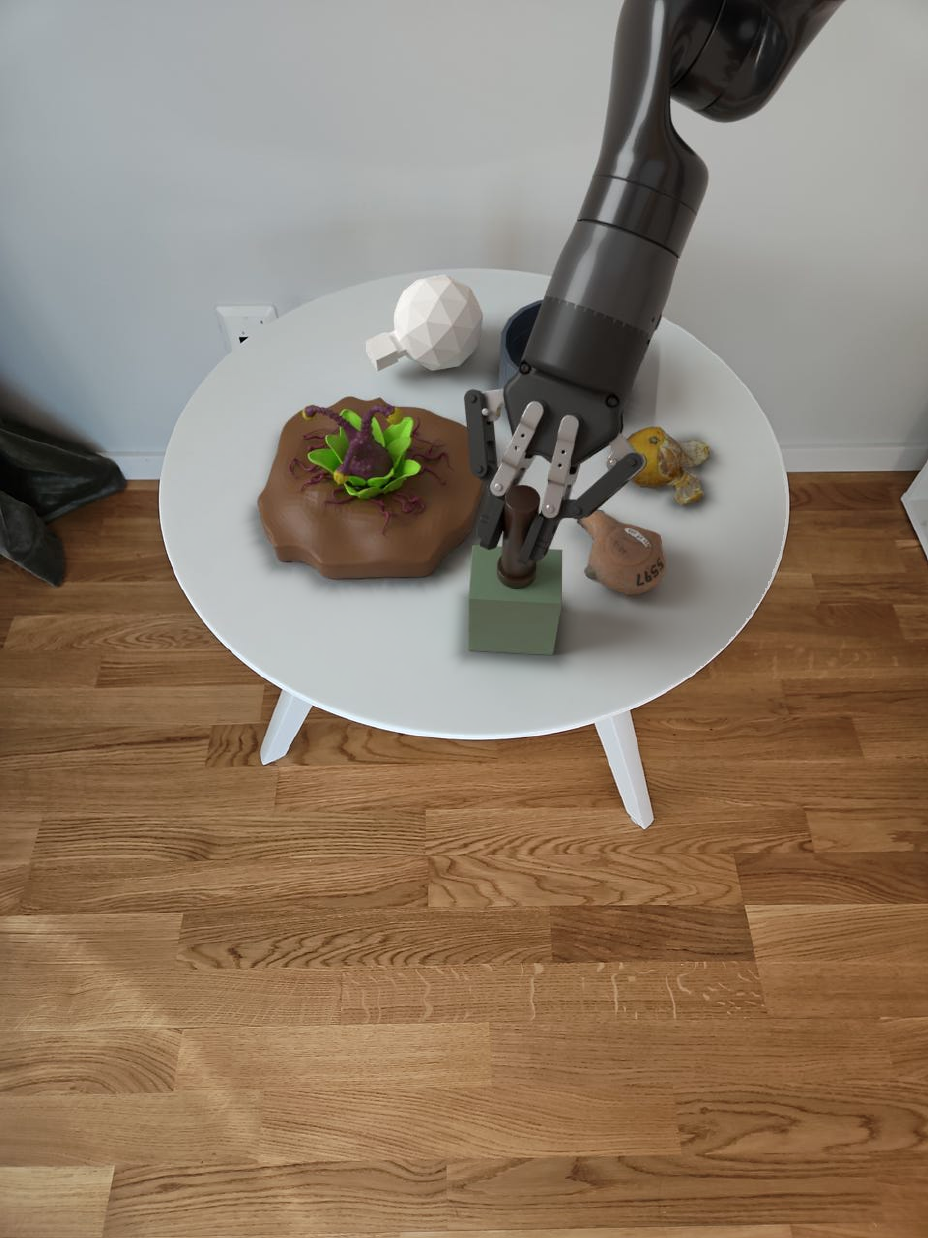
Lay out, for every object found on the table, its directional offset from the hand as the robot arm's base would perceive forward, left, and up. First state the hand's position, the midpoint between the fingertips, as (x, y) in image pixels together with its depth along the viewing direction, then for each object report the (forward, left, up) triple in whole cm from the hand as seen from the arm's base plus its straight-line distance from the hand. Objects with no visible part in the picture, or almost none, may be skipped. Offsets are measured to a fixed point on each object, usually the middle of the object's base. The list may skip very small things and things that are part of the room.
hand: (507, 554), depth 63 cm
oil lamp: (-10, -9, -13) cm, 19 cm away
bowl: (-5, -30, -13) cm, 33 cm away
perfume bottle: (+9, -33, -13) cm, 37 cm away
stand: (-1, -2, -13) cm, 13 cm away
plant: (+12, -15, -13) cm, 24 cm away
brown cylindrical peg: (-1, -2, -5) cm, 5 cm away
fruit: (-15, -19, -13) cm, 28 cm away
